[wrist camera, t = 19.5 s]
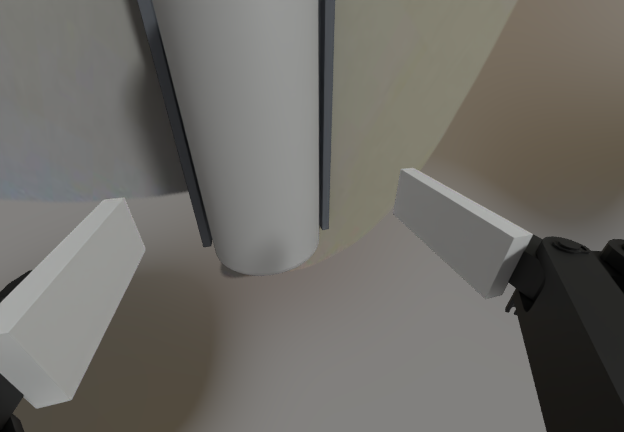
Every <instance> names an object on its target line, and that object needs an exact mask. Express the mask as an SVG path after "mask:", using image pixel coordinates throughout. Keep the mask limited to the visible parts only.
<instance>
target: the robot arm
mask: <svg viewBox="0 0 624 432" xmlns="http://www.w3.org/2000/svg"><path fill="white" fill-rule="evenodd" d="M393 215H395V216H396V217H397V218H398V219H399V220H400V221H401V222H402V223H403V224H404V225H405V226H407V227H408V228H409V229H410V230H411V231H412V232H413V233H414V234H415V235H416V236H417V237H418V238H420V239H421V240H422V241H423V242H424V243H425V244H426V245H427V246H428V247H429V248H430V249H431V250H433V251H434V252H435V253H436V254H437V255H438V256H439V257H440V258H441V259H442V260H443V261H445V262H446V263H447V264H448V265H449V266H450V267H451V268H452V269H453V270H454V271H455V272H456V273H458V274H459V275H460V276H461V277H462V278H463V279H464V280H465V281H466V282H467V283H468V284H469V285H471V286H472V287H473V288H474V289H475V290H476V291H477V292H478V293H479V294H480V295H481V296H482V297H484V298H485V299H488V298H492V297H496V296H500V295H502V294H503V292H504V290H505V288H506V286H507V284H508V283H510V284H511V285H513V286H514V287H515V288H516V289H515V291H514V293H513V295H512V297H511V299H510V301H509V302H508V304H507V306H506V309H505V312H509V311H510V309H511V308H512V307H516V310H515V312H514V314H515V315H517V316H518V320H519V323H520V328H521V332H522V335H523V339H524V343H525V347H526V351H527V355H528V359H529V363H530V367H531V371H532V375H533V379H534V382H535V387H536V391H537V395H538V399H539V403H540V406H541V411H542V415H543V419H544V423H545V427H546V431H547V432H624V240H622V239H613V240H610V241H609V242H608V243H607V244H606V246H605V247H604V249H603V250H602V251H591V250H589V249H588V248H587V247H586V246H583V245H581V244H579V243H576V242H574V241H572V240H569V239H565V238H561V237H545V238H544V239H541V238H539V237H537V236H535V235H533V234H531V233H530V232H528V231H526V230H524V229H523V228H521V227H519V226H517V225H515V224H514V223H512V222H510V221H508V220H506V219H504V218H503V217H501V216H499V215H497V214H496V213H494V212H492V211H490V210H488V209H487V208H485V207H483V206H481V205H479V204H478V203H476V202H474V201H472V200H470V199H469V198H467V197H465V196H463V195H461V194H460V193H458V192H456V191H454V190H452V189H451V188H449V187H447V186H445V185H443V184H442V183H440V182H438V181H436V180H434V179H433V178H431V177H429V176H427V175H425V174H424V173H422V172H420V171H418V170H416V169H415V168H407V169H401V171H400V176H399V182H398V188H397V194H396V199H395V205H394V211H393ZM145 250H146V249H145V246H144V244H143V241H142V239H141V237H140V234H139V232H138V229H137V227H136V224H135V222H134V220H133V217H132V215H131V212H130V210H129V208H128V205H127V203H126V200H125V198H115V199H105V200H103V201H102V202H101V203H100V204H99V205H98V206H97V207H96V208H95V209H94V210H93V211H92V212H91V213H90V214H89V215H88V216H87V217H86V218H85V219H84V220H83V221H82V222H81V223H80V224H79V225H78V226H77V227H76V228H75V229H74V230H73V231H72V232H71V233H70V234H69V235H68V236H67V237H66V238H65V239H64V240H63V241H62V242H61V243H60V244H59V245H58V246H57V247H56V248H55V249H54V250H53V251H52V252H51V253H50V254H49V255H48V256H47V257H46V258H45V259H44V260H43V261H42V262H41V263H40V264H39V265H38V266H37V267H36V268H35V269H34V270H31V271H28V272H26V273H25V274H23V275H22V276H20V277H19V278H17V279H16V280H14V281H12V282H11V283H9V284H8V285H7V286H6V287H5V288H4V289H3V290H2V291H1V292H0V432H24V430H23V427H22V424H21V422H20V420H19V419H18V418H17V417H16V416H15V415H13V414H12V413H13V411H14V410H15V408H16V407H17V405H18V404H19V402H20V401H21V399H22V398H23V397H24V398H25V399H27V400H28V402H30V403H31V404H32V405H33V406H34V407H35V408H41V407H45V406H49V405H53V404H58V403H62V402H66V401H69V400H72V398H73V396H74V394H75V392H76V390H77V388H78V386H79V384H80V382H81V380H82V378H83V376H84V374H85V372H86V370H87V368H88V366H89V364H90V362H91V360H92V358H93V356H94V353H95V351H96V350H97V347H98V346H99V343H100V341H101V339H102V337H103V335H104V333H105V331H106V329H107V327H108V325H109V323H110V321H111V319H112V317H113V315H114V313H115V311H116V309H117V307H118V305H119V303H120V301H121V299H122V297H123V295H124V293H125V291H126V289H127V287H128V285H129V283H130V281H131V279H132V277H133V275H134V272H135V271H136V269H137V267H138V264H139V262H140V260H141V258H142V256H143V254H144V252H145Z"/></svg>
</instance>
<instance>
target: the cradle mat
mask: <svg viewBox="0 0 624 432" xmlns="http://www.w3.org/2000/svg"><path fill="white" fill-rule="evenodd" d="M137 1H138V4H139V8H140V12H141V16H142V19H143V23H144V27H145V31H146V34H147V38H148V42H149V46H150V49H151V53H152V57H153V60H154V64H155V68H156V72H157V75H158V79H159V83H160V87H161V90H162V94H163V98H164V101H165V105H166V109H167V113H168V116H169V120H170V124H171V128H172V131H173V135H174V139H175V143H176V146H177V150H178V154H179V157H180V161H181V165H182V169H183V172H184V176H185V180H186V184H187V187H188V191H189V195H190V198H191V202H192V205H193V210H194V213H195V217H196V220H197V224H198V228H199V232H200V236H201V239H202V243H203V247H209V246H211V244H212V240H213V239H212V235H211V231H210V227H209V223H208V219H207V215H206V211H205V207H204V204H203V200H202V196H201V192H200V188H199V184H198V180H197V176H196V172H195V168H194V164H193V160H192V156H191V152H190V148H189V144H188V140H187V136H186V132H185V129H184V125H183V121H182V117H181V113H180V109H179V105H178V101H177V97H176V93H175V89H174V85H173V81H172V77H171V73H170V69H169V65H168V61H167V57H166V53H165V50H164V46H163V42H162V38H161V34H160V30H159V26H158V22H157V18H156V14H155V10H154V6H153V2H152V0H137ZM334 20H335V0H318V74H319V225H320V227H321V229H322V230H326V229H329V198H330V162H331V126H332V91H333V55H334Z"/></svg>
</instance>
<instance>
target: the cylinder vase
mask: <svg viewBox="0 0 624 432" xmlns="http://www.w3.org/2000/svg"><path fill="white" fill-rule="evenodd" d="M152 2H153V6H154V10H155V14H156V18H157V22H158V26H159V30H160V34H161V38H162V42H163V46H164V50H165V53H166V57H167V61H168V65H169V69H170V73H171V77H172V81H173V85H174V89H175V93H176V97H177V101H178V105H179V109H180V113H181V117H182V121H183V125H184V129H185V132H186V136H187V140H188V144H189V148H190V152H191V156H192V160H193V164H194V168H195V172H196V176H197V180H198V184H199V188H200V192H201V196H202V200H203V204H204V207H205V211H206V215H207V219H208V223H209V227H210V231H211V235H212V239H213V243H214V247H215V251H216V254H217V256H218V258H219V260H220V261H221V262H222V263H223V264H224V265H225V266H226V267H228V268H229V269H231V270H233V271H235V272H238V273H242V274H246V275H253V276H266V275H274V274H279V273H283V272H286V271H289V270H291V269H294V268H296V267H298V266H299V265H301V264H303V263H304V262H305V261H307V260H308V259H309V258H310V257H311V256H312V255H313V253H314V252H315V250H316V249H317V246H318V243H319V74H318V0H152Z"/></svg>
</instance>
